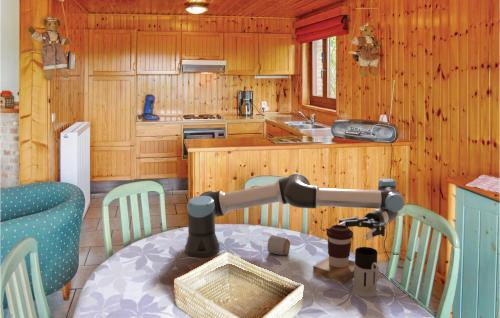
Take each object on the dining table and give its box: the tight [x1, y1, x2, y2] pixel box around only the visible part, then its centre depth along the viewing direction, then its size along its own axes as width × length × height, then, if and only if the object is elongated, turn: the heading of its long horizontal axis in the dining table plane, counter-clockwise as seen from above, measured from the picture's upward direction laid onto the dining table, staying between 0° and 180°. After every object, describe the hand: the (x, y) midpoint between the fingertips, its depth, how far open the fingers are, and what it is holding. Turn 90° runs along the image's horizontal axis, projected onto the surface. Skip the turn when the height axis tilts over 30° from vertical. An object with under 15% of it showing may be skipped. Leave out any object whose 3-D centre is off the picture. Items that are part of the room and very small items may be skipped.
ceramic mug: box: [266, 234, 291, 256], centre depth 190 cm, size 11×8×8 cm
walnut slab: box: [312, 256, 355, 285], centre depth 170 cm, size 14×14×3 cm
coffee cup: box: [326, 224, 354, 268], centre depth 169 cm, size 10×10×15 cm
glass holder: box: [351, 246, 380, 298], centre depth 152 cm, size 9×14×15 cm, turn 8°
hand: (351, 232), depth 173 cm, fingers open, 13 cm apart
